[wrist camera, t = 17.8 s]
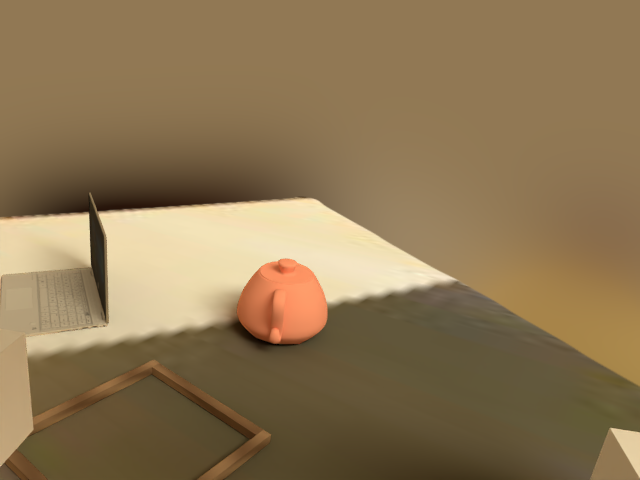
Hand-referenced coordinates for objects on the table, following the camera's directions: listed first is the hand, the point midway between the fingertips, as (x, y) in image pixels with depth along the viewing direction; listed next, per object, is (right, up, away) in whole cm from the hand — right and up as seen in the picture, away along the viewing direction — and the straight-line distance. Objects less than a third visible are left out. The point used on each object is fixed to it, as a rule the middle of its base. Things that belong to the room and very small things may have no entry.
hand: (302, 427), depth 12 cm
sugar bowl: (-5, -9, +62) cm, 62 cm away
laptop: (-37, -5, +63) cm, 73 cm away
